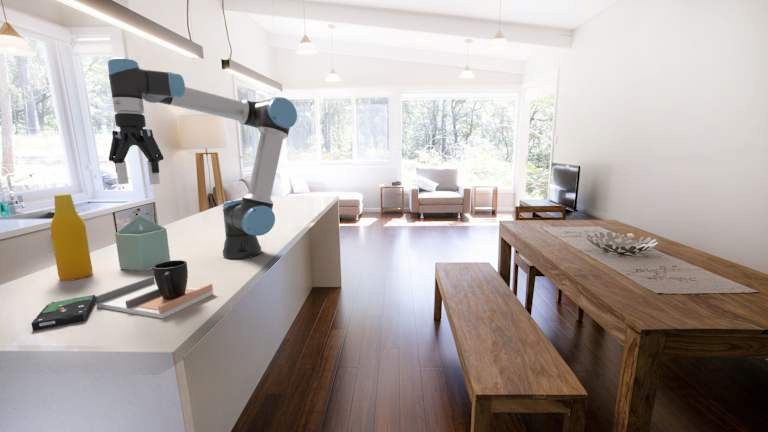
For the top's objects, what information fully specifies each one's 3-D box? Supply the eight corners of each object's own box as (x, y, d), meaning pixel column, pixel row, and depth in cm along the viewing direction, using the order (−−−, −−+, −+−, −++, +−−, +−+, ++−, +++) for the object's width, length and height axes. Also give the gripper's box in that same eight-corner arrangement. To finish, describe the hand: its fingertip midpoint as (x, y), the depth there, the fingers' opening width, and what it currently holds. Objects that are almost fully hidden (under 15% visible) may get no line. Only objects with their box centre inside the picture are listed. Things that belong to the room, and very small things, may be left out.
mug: (151, 309, 95) (146, 274, 93) (160, 293, 106) (156, 262, 105) (186, 303, 98) (182, 270, 96) (192, 289, 109) (188, 258, 107)
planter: (116, 274, 129) (108, 220, 125) (120, 268, 136) (112, 217, 132) (169, 267, 136) (162, 215, 133) (170, 262, 143) (164, 213, 140)
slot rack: (153, 286, 116) (152, 276, 116) (213, 294, 108) (212, 284, 108) (96, 307, 100) (95, 296, 100) (162, 318, 92) (160, 306, 92)
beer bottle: (82, 271, 133) (69, 193, 129) (99, 273, 130) (86, 193, 126) (52, 279, 125) (37, 196, 120) (70, 282, 122) (55, 196, 117)
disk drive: (87, 323, 92) (96, 302, 105) (85, 313, 92) (95, 293, 104) (32, 334, 87) (49, 311, 100) (30, 323, 87) (47, 301, 99)
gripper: (88, 114, 110) (98, 184, 114) (148, 109, 102) (157, 185, 105) (113, 117, 117) (122, 182, 121) (171, 112, 109) (179, 183, 112)
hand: (139, 184), depth 113 cm, fingers open, 13 cm apart
